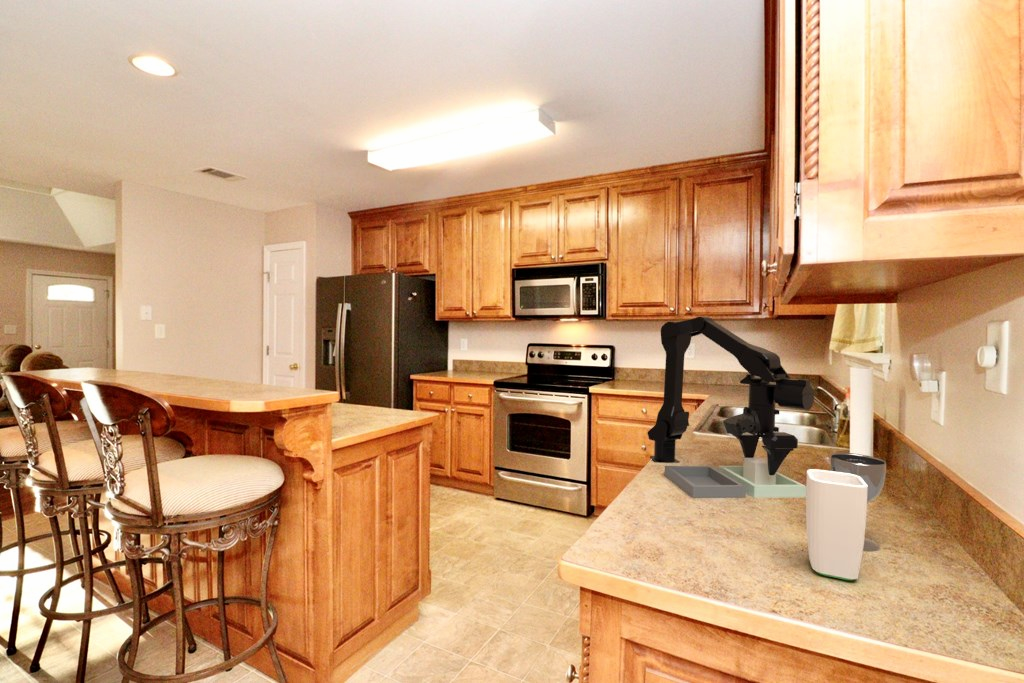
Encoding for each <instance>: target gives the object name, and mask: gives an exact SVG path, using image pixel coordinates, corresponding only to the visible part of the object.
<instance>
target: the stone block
mask: <svg viewBox="0 0 1024 683" xmlns="http://www.w3.org/2000/svg"><path fill="white" fill-rule="evenodd" d="M742 466H743V478H745V479H747V480H749V481H750V482H752V483H754V484H756V485H775V482H776V473H775V475H769V471H768V460H767V458H765V457H754V458H745V457H743V465H742Z"/></svg>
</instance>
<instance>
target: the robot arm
mask: <svg viewBox="0 0 1024 683" xmlns="http://www.w3.org/2000/svg"><path fill="white" fill-rule="evenodd" d="M701 334H702V336H705V337H706V338H707V339H709V340H711V341H712V343H715V344H716V345H718V346H719V347H721V348H722V349H724V350H725V351H726V352H728V353H730V354H731V355H733V356H734V358H736V359H737V361H738V363H739V365H740V366H741V367H742V368H743V369H744V370H745V371H746V372H747V374H746V376H745V377H743V378H742V379H741V380H740V381H739V383H740V384H743V385H748V402H747V403H748V406H743V409H742V413H740V414H735V415H733V416H730V417H727V418H725V419H723V426H724V428H725V431H726V433H727V434H729V435H732V437H735V438H736V439H737V441H739V444H740V447H741V450H742V453H743V456H744V457H743V458H755V457H754V456H755V455H756V454H755V453H756V450H757V446H758V444H759V441H760V438H761V442H762V444H763V445H761V448H762V449H764V451H765V452H766V456H767V458H766V459H767V460H768V471H769V475H775V473H776V472H778V470H779V468H780V467H781V465H782V463H784V460H785V459H786V457H787V456H788V455H789V454H790V453H791V452H793V451H795V449H798V446H799V439H798V438H797V436H795V435H794V434H790V433H789V432H788V433H787V432H784V431H781V432H780V427H778V426H776V415H780V410H779V409H777V408H776V404H777V405H778V406H779V407H780V408H787V409H793V410H803V411H810V410H811V409H812V407H813V405H814V402H815V393H814V390H813V387H812V385H811V380H810V379H804V378H801V379H796V378H791V377H790V376H789V374H788V373H787V371H786V370H785V368H784V367H783V366H782V363H781V358H780V356H779V354H777V353H776V352H773V351H771V350H768V349H766V348H764V347H760V346H758V345H754V344H751V343H750V342H747V341H746V340H744V339H743V338H741V337H740V336H738V335H737V334H735V333H733V332H731V330H729V329H727V328H725V327H724V326H722V325H721V324H719V323H717V322H716V321H714V320H713V318H712V317H709V316H696V317H695V318H690V319H685V320H681V321H667V322H664V324H663V325H662V326H661V328H660V341H661V345H662V348H663V350H664V351H665V368H664V385H663V386H664V387H663V403H662V405H661V407H660V409H659V410H658V412H657V415H656V420H655V421H656V422H655V425H653V426H652V428H650V429H649V430H648V431H647V437H648V439H649V440H650V441H653V442H654V444H653V445H654V447H653V449H654V451H653V455H649V458H650V459H651V460H652V461H653V462H655V463H661V464H662V463H666V464H667V463H668V464H669V463H671V464H672V463H675V464H677V463H681V462H680V460H678V459H676V442H677V441H676V440H681V439H682V437H683V434H684V433H685V432H686V431H687V429H688V427H690V423H689V418H690V412H689V411H685V408H684V407H683V386H684V385H683V384H684V372H685V370H684V367H685V354H686V352H687V350H688V349H689V347H690V345H691V341H692V337H696V336H699V335H701Z"/></svg>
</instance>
